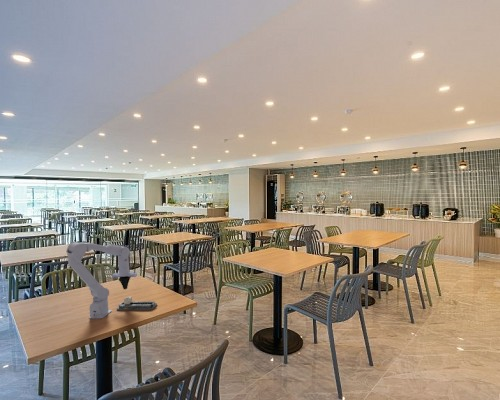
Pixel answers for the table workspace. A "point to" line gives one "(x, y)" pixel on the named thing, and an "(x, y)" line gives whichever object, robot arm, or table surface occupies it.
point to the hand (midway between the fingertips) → (125, 288)
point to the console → (137, 306)
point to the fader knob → (128, 300)
